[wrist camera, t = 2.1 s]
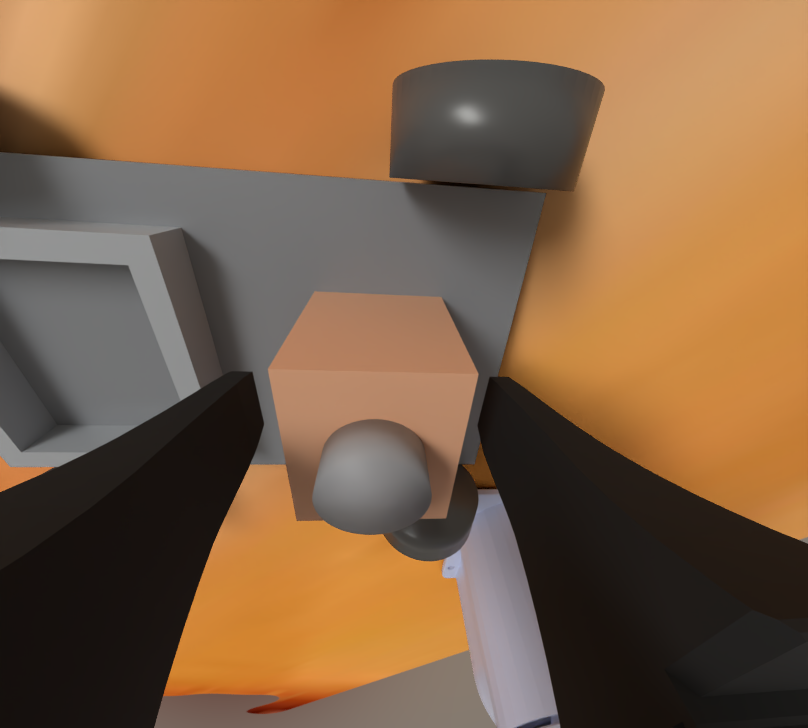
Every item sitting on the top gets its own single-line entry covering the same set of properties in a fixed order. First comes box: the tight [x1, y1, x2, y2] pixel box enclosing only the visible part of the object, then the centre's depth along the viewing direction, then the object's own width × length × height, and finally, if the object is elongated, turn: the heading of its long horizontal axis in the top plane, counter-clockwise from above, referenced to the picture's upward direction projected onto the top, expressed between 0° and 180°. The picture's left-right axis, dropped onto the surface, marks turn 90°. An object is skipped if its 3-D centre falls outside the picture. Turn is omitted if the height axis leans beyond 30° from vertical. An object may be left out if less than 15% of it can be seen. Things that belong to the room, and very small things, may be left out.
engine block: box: [268, 291, 479, 535], centre depth 9 cm, size 5×4×6 cm
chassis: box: [0, 60, 605, 561], centre depth 11 cm, size 16×20×5 cm
